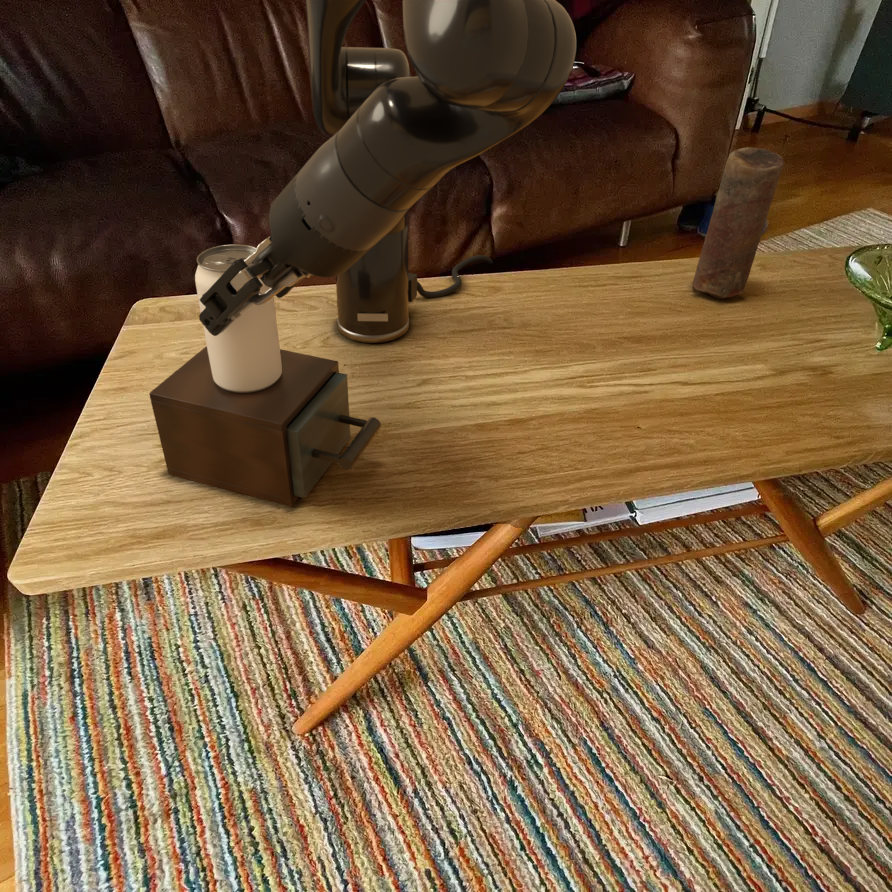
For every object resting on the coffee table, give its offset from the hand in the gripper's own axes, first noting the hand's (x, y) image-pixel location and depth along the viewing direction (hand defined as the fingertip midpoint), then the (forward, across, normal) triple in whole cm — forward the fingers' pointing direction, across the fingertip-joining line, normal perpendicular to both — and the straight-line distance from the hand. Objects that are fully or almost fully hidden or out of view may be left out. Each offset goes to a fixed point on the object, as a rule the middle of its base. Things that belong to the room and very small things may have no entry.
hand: (242, 306), depth 67 cm
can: (+6, 0, +5) cm, 8 cm away
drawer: (+9, -1, +14) cm, 17 cm away
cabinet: (+13, 0, +12) cm, 17 cm away
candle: (-10, -66, +34) cm, 75 cm away
